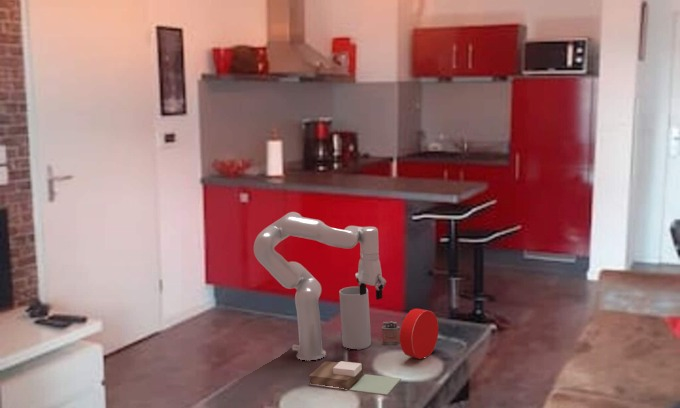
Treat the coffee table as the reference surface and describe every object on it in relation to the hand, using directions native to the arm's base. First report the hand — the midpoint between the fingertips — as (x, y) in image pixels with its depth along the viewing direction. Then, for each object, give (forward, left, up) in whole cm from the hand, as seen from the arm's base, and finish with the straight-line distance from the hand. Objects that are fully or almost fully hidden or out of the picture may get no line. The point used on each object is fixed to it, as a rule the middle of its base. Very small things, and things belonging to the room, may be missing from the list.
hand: (371, 296), depth 306 cm
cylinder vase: (-12, +9, -26) cm, 30 cm away
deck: (-5, -28, -26) cm, 38 cm away
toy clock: (+19, +4, -26) cm, 33 cm away
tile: (0, -28, -21) cm, 35 cm away
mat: (+12, -28, -26) cm, 40 cm away
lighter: (+2, +15, -26) cm, 30 cm away
